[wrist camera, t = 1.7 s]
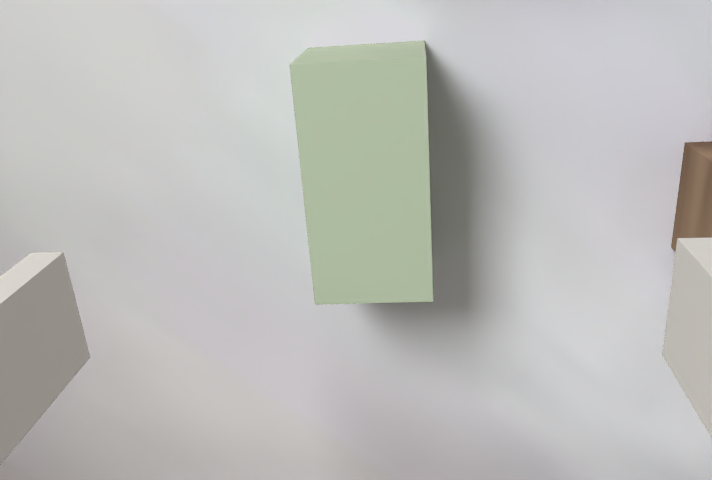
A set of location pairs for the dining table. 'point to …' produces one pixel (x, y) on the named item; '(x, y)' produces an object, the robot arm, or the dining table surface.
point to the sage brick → (365, 171)
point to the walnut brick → (694, 193)
